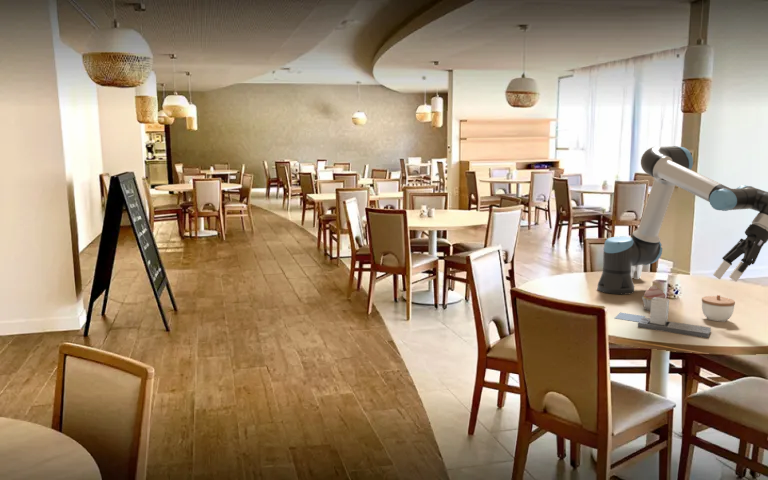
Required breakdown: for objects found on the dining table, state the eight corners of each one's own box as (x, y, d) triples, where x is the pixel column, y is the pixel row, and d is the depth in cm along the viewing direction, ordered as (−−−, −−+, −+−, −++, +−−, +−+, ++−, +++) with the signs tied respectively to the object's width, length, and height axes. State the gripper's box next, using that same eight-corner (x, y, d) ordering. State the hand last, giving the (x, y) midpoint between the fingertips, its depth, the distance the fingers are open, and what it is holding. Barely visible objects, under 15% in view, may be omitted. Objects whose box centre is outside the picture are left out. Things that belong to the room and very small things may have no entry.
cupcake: (667, 314, 237) (669, 288, 235) (641, 311, 240) (642, 286, 238) (665, 307, 245) (667, 283, 244) (640, 305, 248) (642, 281, 247)
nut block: (649, 327, 218) (651, 299, 216) (652, 324, 222) (654, 296, 220) (664, 329, 215) (666, 301, 214) (667, 326, 219) (669, 298, 218)
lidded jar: (694, 316, 234) (696, 292, 232) (721, 315, 235) (723, 291, 233) (711, 324, 223) (713, 299, 222) (739, 324, 224) (742, 298, 223)
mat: (614, 319, 229) (614, 318, 229) (620, 313, 237) (620, 312, 237) (640, 323, 224) (640, 322, 224) (645, 317, 232) (645, 316, 232)
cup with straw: (633, 275, 304) (636, 235, 300) (649, 279, 296) (652, 237, 293) (621, 277, 299) (624, 236, 296) (637, 281, 292) (640, 239, 288)
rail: (637, 328, 219) (638, 322, 218) (642, 322, 225) (642, 317, 225) (707, 339, 207) (708, 333, 206) (710, 333, 213) (710, 327, 213)
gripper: (789, 234, 206) (749, 286, 207) (753, 235, 231) (718, 282, 232) (769, 221, 206) (730, 273, 208) (736, 224, 231) (701, 270, 233)
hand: (724, 278), depth 220 cm, fingers open, 13 cm apart
